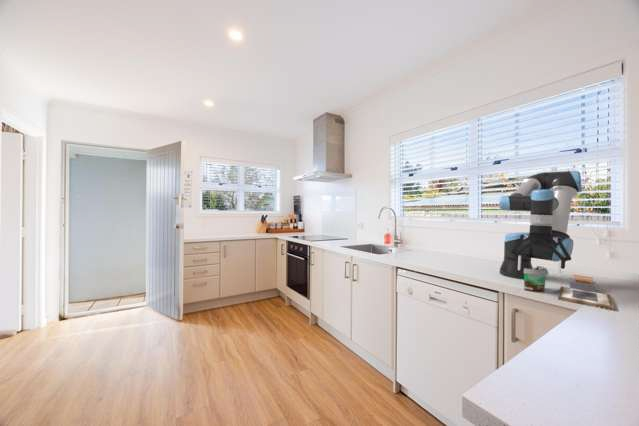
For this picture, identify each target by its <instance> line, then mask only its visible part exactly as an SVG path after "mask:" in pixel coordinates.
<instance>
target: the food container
mask: <svg viewBox="0 0 639 426" xmlns="http://www.w3.org/2000/svg"><path fill="white" fill-rule="evenodd" d="M523 273H524V279H523V281H524V282H523V283H524V284H523V286H524V287H523V288H524V291H526V292H531V293H532V292H533V293H544V292H545V287H546V280H547V275H549V269H548V268H546V267H544V266H540V265H536V267H534V268H530V269H526V268H524V272H523Z"/></svg>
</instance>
